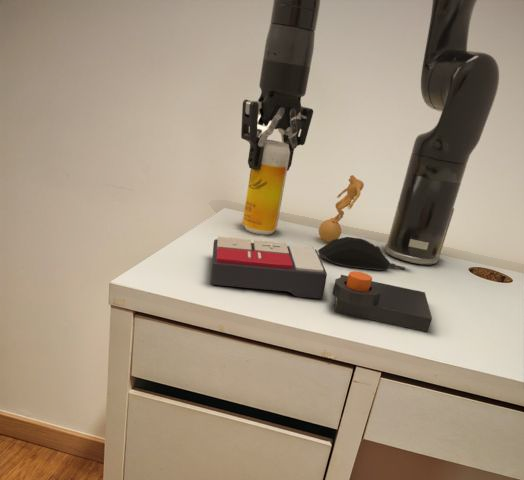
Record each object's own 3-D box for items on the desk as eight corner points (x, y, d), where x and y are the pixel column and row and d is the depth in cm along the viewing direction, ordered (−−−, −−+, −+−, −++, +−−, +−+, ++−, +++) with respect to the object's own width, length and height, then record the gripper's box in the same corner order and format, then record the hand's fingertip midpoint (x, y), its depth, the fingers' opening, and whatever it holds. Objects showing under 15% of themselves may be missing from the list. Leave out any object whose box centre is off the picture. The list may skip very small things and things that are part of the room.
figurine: (312, 233, 108) (326, 167, 102) (343, 237, 109) (359, 172, 103) (321, 247, 100) (337, 176, 95) (354, 252, 101) (372, 182, 96)
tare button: (346, 282, 76) (349, 269, 75) (369, 286, 76) (372, 274, 75) (345, 289, 74) (348, 276, 73) (369, 294, 73) (372, 281, 73)
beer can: (241, 223, 106) (254, 136, 99) (274, 227, 107) (289, 142, 100) (242, 232, 101) (256, 142, 94) (277, 237, 101) (293, 148, 95)
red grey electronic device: (214, 233, 84) (317, 243, 85) (212, 262, 86) (312, 271, 87) (212, 257, 74) (328, 268, 76) (210, 289, 76) (323, 299, 78)
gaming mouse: (410, 276, 94) (417, 252, 92) (321, 264, 92) (326, 239, 90) (398, 263, 100) (405, 240, 98) (314, 251, 97) (319, 228, 96)
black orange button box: (332, 285, 84) (338, 262, 82) (421, 304, 83) (428, 281, 81) (328, 314, 74) (334, 288, 72) (428, 335, 73) (437, 310, 71)
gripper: (269, 57, 85) (251, 174, 92) (334, 69, 94) (313, 175, 101) (237, 51, 89) (222, 163, 97) (302, 63, 99) (284, 165, 106)
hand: (269, 169), depth 99 cm, fingers closed on beer can, 6 cm apart
